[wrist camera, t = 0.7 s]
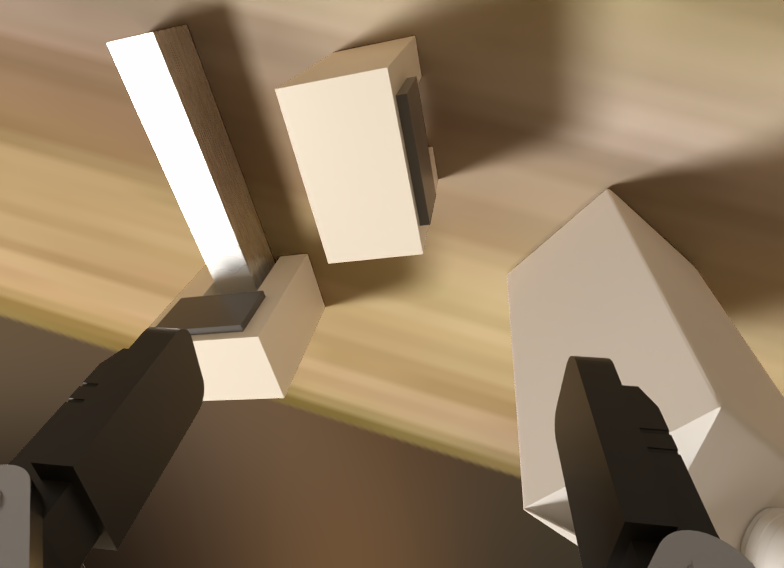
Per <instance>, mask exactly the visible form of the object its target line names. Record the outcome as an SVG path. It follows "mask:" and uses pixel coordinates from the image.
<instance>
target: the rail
mask: <svg viewBox="0 0 784 568" xmlns="http://www.w3.org/2000/svg"><path fill="white" fill-rule="evenodd" d="M107 46H108V48H109V50H110V52H111V54H112V57H113V59H114V61H115V63H116V66H117V68H118V70H119V72H120V74H121V77H122V79H123V81H124V83H125V85H126V88H127V90H128V92H129V94H130V97H131V99H132V101H133V103H134V105H135V108H136V110H137V112H138V114H139V116H140V119H141V121H142V123H143V125H144V128H145V130H146V132H147V134H148V136H149V139H150V141H151V143H152V145H153V147H154V150H155V152H156V154H157V156H158V159H159V161H160V163H161V165H162V167H163V170H164V172H165V174H166V176H167V178H168V181H169V183H170V185H171V187H172V190H173V192H174V194H175V196H176V198H177V201H178V203H179V205H180V207H181V209H182V212H183V214H184V216H185V218H186V221H187V223H188V225H189V227H190V229H191V232H192V234H193V236H194V238H195V240H196V243H197V245H198V247H199V249H200V252H201V254H202V256H203V258H204V260H205V263H206V265H207V267H208V269H209V271H210V274H211V276H212V278H213V280H214V283H215V285H216V287H217V289H218V291H219V294H231V293H242V292H253V291H257V290H258V289H259V287H260V286H261V284H262V283H263V281H264V280H265V278H266V277H267V275H268V274H269V272H270V271H271V269H272V268H273V266H274V265H275V262H274V259H273V257H272V254H271V251H270V248H269V246H268V243H267V240H266V238H265V235H264V232H263V229H262V227H261V224H260V221H259V219H258V216H257V213H256V211H255V208H254V205H253V202H252V200H251V197H250V194H249V192H248V189H247V186H246V183H245V181H244V178H243V175H242V173H241V170H240V167H239V165H238V162H237V159H236V156H235V154H234V151H233V148H232V146H231V143H230V140H229V137H228V135H227V132H226V129H225V127H224V124H223V121H222V118H221V116H220V113H219V110H218V108H217V105H216V102H215V100H214V97H213V94H212V91H211V89H210V86H209V83H208V81H207V78H206V75H205V72H204V70H203V67H202V64H201V62H200V59H199V56H198V54H197V51H196V48H195V45H194V43H193V40H192V37H191V35H190V32H189V29H188V26H187V25H182V26H178V27H173V28H169V29H164V30H160V31H156V32H151V33H147V34H143V35H139V36H134V37H130V38H126V39H122V40H118V41H113V42H109V43H107Z"/></svg>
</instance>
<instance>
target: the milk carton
mask: <svg viewBox="0 0 784 568" xmlns="http://www.w3.org/2000/svg"><path fill="white" fill-rule="evenodd" d="M507 284H508V298H509V311H510V325H511V339H512V353H513V367H514V381H515V395H516V409H517V423H518V437H519V451H520V464H521V478H522V492H523V506H524V507H523V509H524V510H525V511H527V512H528V513H529V514H531V515H532V516H534V517H535V518H537V519H538V520H540V521H541V522H543V523H544V524H546V525H547V526H549V527H551V528H552V529H553V530H555V531H556V532H558V533H559V534H561V535H563V536H564V537H566V538H567V539H569V540H570V541H572V542H573V543H575V544H576V545H578V544H577V539H576V535H575V530H574V525H573V520H572V516H571V511H570V506H569V501H568V497H567V492H566V487H565V482H564V477H563V473H562V468H561V463H560V458H559V454H558V449H557V444H556V439H555V411H556V406H557V402H558V398H559V394H560V390H561V385H562V381H563V377H564V373H565V369H566V364H567V361H568V359H569V357H570V356H583V357H598V358H609V359H611V360H612V362H613V363H614V366H615V368H616V371H617V373H618V376H619V378H620V381H621V383H622V385H625V386H638V387H639V388H640V389H641V390H642V391H643V392H644V393H645V394H646V395H647V396H648V397H649V398H650V399H651V400H652V401H653V402H654V403H655V404H656V405H657V406H658V407H659V409H660V411H661V413H662V416H663V418H664V420H665V422H666V424H667V426H668V429H669V435H672V437H673V439H674V442H675V444H676V446H677V448H678V454H679V455H681V457H682V459H683V461H684V463H685V465H686V468H687V470H688V472H689V474H690V476H691V478H692V481H693V483H694V485H695V487H696V489H697V491H698V494H699V496H700V498H701V500H702V502H703V504H704V507H705V509H706V511H707V513H708V515H709V517H710V520H711V522H712V524H713V526H714V528H715V530H716V532H717V534H718V536H719V538H720V539H721V540H723V541H724V542H726V543H728V544H729V545H731V546H732V547H734V548H735V549H737V550H738V551H739V552H740V553H741V554H743V555H744V556H745V557H746V558H747V559H748V560H749V561H750V562H751V563H752V564H753V565H754V567H755V568H784V397H783V396H782V394H781V393H780V391H779V390H778V389H777V387H776V386H775V384H774V383H773V381H772V380H771V378H770V377H769V375H768V374H767V372H766V371H765V369H764V368H763V367H762V365H761V364H760V362H759V361H758V359H757V358H756V356H755V355H754V353H753V352H752V350H751V349H750V347H749V346H748V344H747V343H746V342H745V340H744V339H743V337H742V336H741V334H740V333H739V331H738V330H737V328H736V327H735V325H734V324H733V322H732V321H731V320H730V318H729V317H728V315H727V314H726V312H725V311H724V309H723V308H722V306H721V305H720V303H719V302H718V300H717V299H716V298H715V296H714V295H713V293H712V292H711V290H710V289H709V287H708V286H707V284H706V283H705V281H704V280H703V278H702V277H701V275H700V274H699V273H698V271H697V270H696V268H695V267H694V266H693V265H692V264H691V263H690V262H689V261H688V260H687V259H686V258H684V257H683V256H682V255H681V254H680V253H679V252H678V251H677V250H676V249H675V248H674V247H672V246H671V245H670V244H669V243H668V242H667V241H666V240H665V239H664V238H663V237H662V236H661V235H659V234H658V233H657V232H656V231H655V230H654V229H653V228H652V227H651V226H650V225H649V224H647V223H646V222H645V221H644V220H643V219H642V218H641V217H640V216H639V215H638V214H637V213H636V212H634V211H633V210H632V209H631V208H630V207H629V206H628V205H627V204H626V203H625V202H624V201H622V200H621V199H620V198H619V197H618V196H617V195H616V194H615V193H614V192H612V191H611V190H610V189H606V190H605V191H604V192H602V193H601V194H600V195H599V196H598V197H597V198H595V199H594V200H593V201H592V202H591V203H590V204H588V205H587V206H586V207H585V208H584V209H583V210H581V211H580V212H579V213H578V214H577V215H576V216H574V217H573V218H572V219H571V220H570V221H569V222H567V223H566V224H565V225H564V226H563V227H562V228H560V229H559V230H558V231H557V232H556V233H555V234H553V235H552V236H551V237H550V238H549V239H548V240H546V241H545V242H544V243H543V244H542V245H541V246H539V247H538V248H537V249H536V250H535V251H534V252H532V253H531V254H530V255H529V256H528V257H527V258H525V259H524V260H523V261H522V262H521V263H520V264H518V265H517V266H516V267H515V268H514V269H513V270H511V271H510V272H509V273H508V274H507Z"/></svg>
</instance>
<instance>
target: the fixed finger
mask: <svg viewBox="0 0 784 568" xmlns="http://www.w3.org/2000/svg"><path fill="white" fill-rule="evenodd" d="M324 309H325V305H324V302H323V299H322V296H321V293H320V290H319V287H318V284H317V281H316V278H315V275H314V272H313V269H312V266H311V263H310V260H309V256H308V254H299V255H290V256H281V257H280V258H279V259H278V261H277V262H276V264H275V265H274V266H273V268H272V269H271V271H270V272H269V274H268V275H267V277H266V278H265V280H264V281H263V283H262V284H261V286H260V287H259V289H258V290H257V291H253V292H242V293H231V294H219V291H218V289H217V287H216V285H215V283H214V280H213V278H212V276H211V274H210V271H209V269H208V267H207V265H205V266H204V267H203V268H202V269H201V270H200V271H199V272H198V273H197V275H196V276H195V277H194V278H193V279H192V280H191V281H190V282H189V283H188V284H187V286H186V287H185V288H184V289H183V290H182V291H181V292H180V293H179V294H178V296H177V297H176V298H175V299H174V300H173V301H172V302H171V303H170V304H169V305H168V307H167V308H166V309H165V310H164V311H163V312H162V313H161V314H160V315H159V316H158V318H157V319H156V320H155V321H154V322H153V323H152V324H151V325H150V326H149V327H163V328H178V329H186V330H188V331H189V333H190V334H191V337H192V340H193V344H194V347H195V351H196V355H197V358H198V362H199V366H200V369H201V373H202V377H203V380H204V397H203V401H208V400H236V399H237V400H238V399H265V398H284V397H285V395H286V393H287V391H288V388H289V386H290V384H291V382H292V380H293V377H294V375H295V373H296V371H297V369H298V366H299V364H300V362H301V360H302V357H303V355H304V353H305V351H306V349H307V346H308V344H309V342H310V340H311V338H312V335H313V333H314V331H315V329H316V327H317V324H318V322H319V320H320V318H321V316H322V313H323V311H324Z"/></svg>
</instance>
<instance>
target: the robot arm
mask: <svg viewBox="0 0 784 568" xmlns="http://www.w3.org/2000/svg"><path fill="white" fill-rule="evenodd" d="M203 397H204V380H203V377H202V373H201V369H200V366H199V362H198V358H197V355H196V351H195V347H194V344H193V340H192V337H191V334H190V333H189V331H188V330H186V329H178V328H163V327H149V328H147V329H146V330H145V331H144V332H143V333H142V334H141V335H140V336H139V338H138V339H137V340H136V341H135V342H134V343H133V345H132V346H131V347H130V348H129V349H122V350H120V351H119V352H117V353H116V354H114V355H113V356H111V357H110V358H108V359H107V360H105V361H104V362H102V363H100V364H99V365H98V366H97V367H96V369H95V370H94V371H93V372H92V373H91V374H90V375H89V376H88V378H86V380H85V381H84V382H83V386H79V387H78V389H77V390H76V391H75V392H74V393H73V394H72V395H71V396H70V397H69V401H68V402H65V403H64V404H63V405H62V406H61V407H60V408H59V410H57V412H56V413H55V414H54V415H53V416H52V417H51V418H50V419H49V420H48V422H47V423H46V424H45V425H44V426H43V427H42V428H41V429H40V430H39V432H38V433H37V434H36V435H35V436H34V437H33V438H32V439H31V440H30V441H29V443H28V444H27V445H26V446H25V447H24V448H23V449H22V450H21V452H19V454H18V455H17V456H16V457H15V458H14V459H13V460H12V461H11V462H10V463H9V464H8V465H0V568H85V567H84V565H83V562H84V560H85V558H86V557H87V555H88V554H89V552H90V551H91V549H92V548H100V549H109V550H118V548H119V546H120V545H121V543H122V541H123V539H124V538H125V536H126V534H127V533H128V531H129V529H130V528H131V526H132V524H133V522H134V521H135V519H136V517H137V515H138V514H139V512H140V510H141V509H142V507H143V505H144V503H145V502H146V500H147V498H148V497H149V495H150V493H151V492H152V490H153V488H154V487H155V485H156V483H157V481H158V480H159V478H160V476H161V474H162V473H163V471H164V469H165V468H166V466H167V464H168V463H169V461H170V459H171V457H172V456H173V454H174V452H175V450H176V449H177V447H178V446H179V444H180V442H181V440H182V439H183V437H184V435H185V434H186V431H187V430H188V428H189V427H190V425H191V423H192V422H193V420H194V418H195V416H196V415H197V413H198V411H199V409H200V407H201V404H202V401H203ZM555 439H556V444H557V449H558V454H559V458H560V463H561V468H562V473H563V477H564V482H565V487H566V492H567V497H568V501H569V506H570V511H571V516H572V520H573V525H574V530H575V535H576V539H577V544H578V549H579V554H580V558H581V563H582V567H583V568H755V567H754V565H753V564H752V563H751V562H750V561H749V560H748V559H747V558H746V557H745V556H744V555H743V554H741V553H740V552H739V551H738V550H737V549H735V548H734V547H732V546H731V545H729V544H728V543H726V542H724V541H723V540H721V539H720V538H719V536H718V534H717V532H716V530H715V528H714V526H713V524H712V522H711V520H710V517H709V515H708V513H707V511H706V509H705V507H704V504H703V502H702V500H701V498H700V496H699V494H698V491H697V489H696V487H695V485H694V483H693V481H692V478H691V476H690V474H689V472H688V470H687V468H686V465H685V463H684V461H683V459H682V457H681V455H679V454H678V448H677V446H676V444H675V442H674V439H673V437H672V435H669V429H668V426H667V424H666V422H665V420H664V418H663V416H662V413H661V411H660V409H659V407H658V406H657V405H656V404H655V403H654V402H653V401H652V400H651V399H650V398H649V397H648V396H647V395H646V394H645V393H644V392H643V391H642V390H641V389H640V388H639V387H638V386H625V385H622V383H621V381H620V378H619V376H618V373H617V371H616V368H615V366H614V363H613V362H612V360H611V359H609V358H598V357H583V356H570V357H569V359H568V361H567V364H566V369H565V373H564V377H563V381H562V385H561V390H560V394H559V398H558V402H557V406H556V411H555Z"/></svg>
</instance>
